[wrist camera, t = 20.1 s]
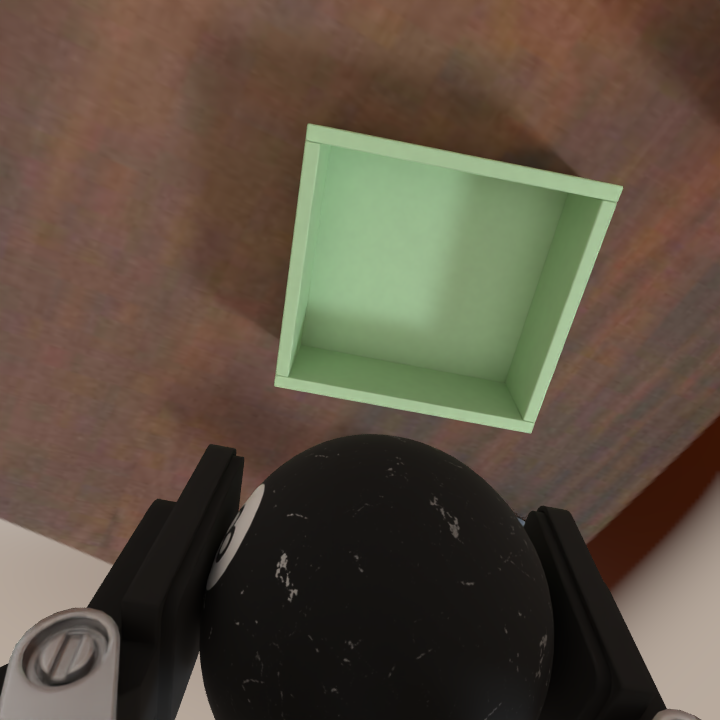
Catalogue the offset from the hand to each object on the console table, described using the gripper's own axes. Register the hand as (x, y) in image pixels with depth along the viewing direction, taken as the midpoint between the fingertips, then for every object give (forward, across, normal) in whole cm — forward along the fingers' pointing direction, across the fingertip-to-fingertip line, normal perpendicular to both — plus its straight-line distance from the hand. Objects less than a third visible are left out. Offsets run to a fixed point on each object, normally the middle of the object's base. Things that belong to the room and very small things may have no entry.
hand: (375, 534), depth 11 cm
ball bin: (+17, -2, -2) cm, 17 cm away
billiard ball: (+1, 0, 0) cm, 1 cm away
